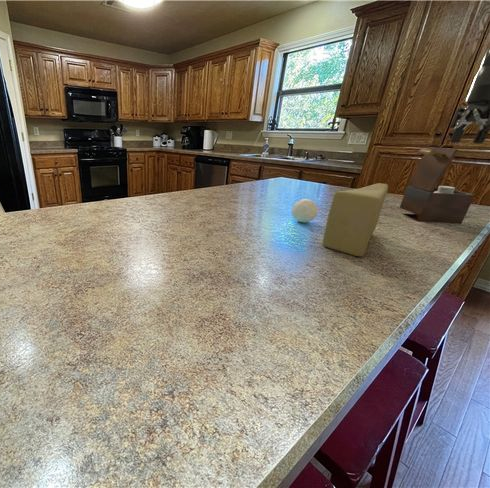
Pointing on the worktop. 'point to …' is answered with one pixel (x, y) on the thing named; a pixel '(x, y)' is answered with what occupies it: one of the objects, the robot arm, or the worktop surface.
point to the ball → (305, 210)
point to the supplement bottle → (445, 189)
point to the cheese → (354, 218)
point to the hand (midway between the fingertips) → (465, 142)
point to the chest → (436, 205)
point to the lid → (431, 167)
